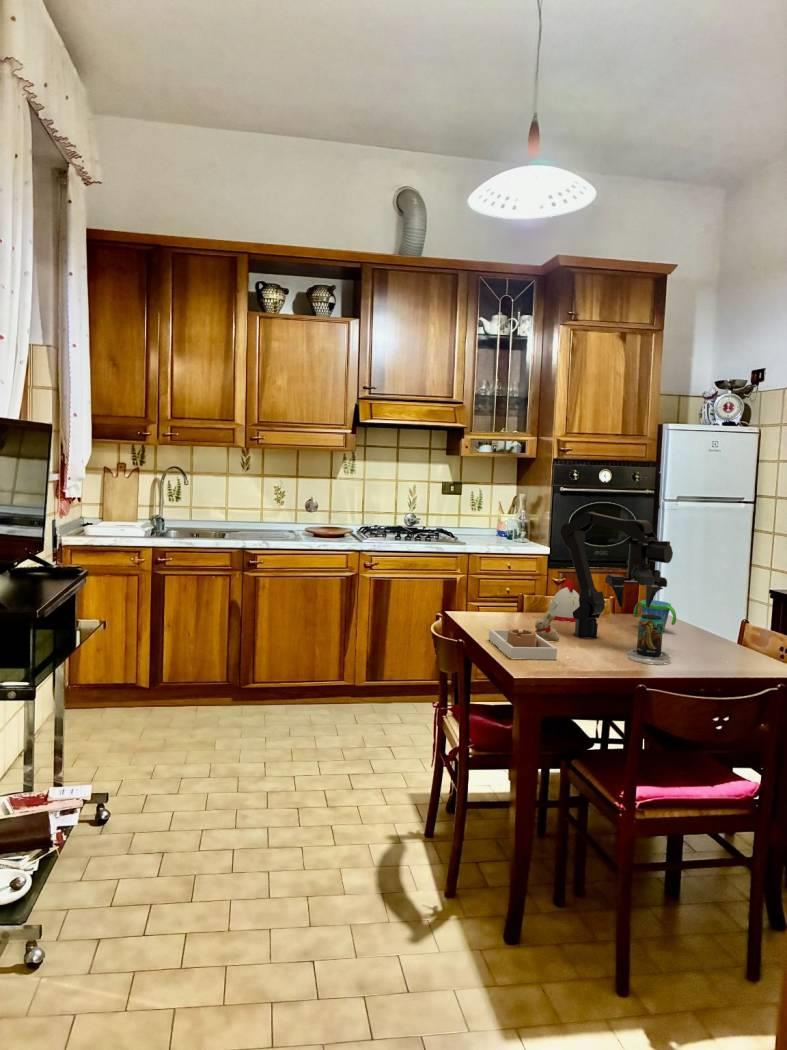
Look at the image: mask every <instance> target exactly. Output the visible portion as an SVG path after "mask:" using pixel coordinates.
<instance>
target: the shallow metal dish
mask: <svg viewBox="0 0 787 1050" xmlns="http://www.w3.org/2000/svg"><path fill="white" fill-rule="evenodd" d="M627 657H628V658H629V659H628V658H627V659H628V660H630V659H631V660H630V661H632V660H633V661H632V662H635V661H637V662H636V663H639V662H642V663H641V664H643V663H653V664H664V663H669V662H670V663H671V660H672V658H671V656H670V654H669V653H666V652H665V651H663V650H661V655H660V656H659V657H648V656H642V655H639V654H638V653H637V647H636V648H631V649H630V650H629V651H628V652H627ZM670 663H669V664H670Z"/></svg>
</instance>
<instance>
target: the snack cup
mask: <svg viewBox="0 0 787 1050" xmlns="http://www.w3.org/2000/svg"><path fill="white" fill-rule="evenodd" d="M639 607H640V608H641V616H642V615H656V616H660V617H661V620H662V622H663V632H664V631H665V630H666V625H667V622H668V618H669V613H671V615H672V620H671V625H672V626H674V625H675V624H676V623H677V613H676V611H675V608H674V607H673V606H672V604H671V603H670V602H667V601H663V600H662V601H661V600H655V599H653V600H652V602H651V604H650V606H649V608H647V607H646V599H643V600H640V601H639V602H637V603H636V604H635V606H634V609H633V616H634V618H638V617H639Z"/></svg>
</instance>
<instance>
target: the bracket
mask: <svg viewBox="0 0 787 1050" xmlns="http://www.w3.org/2000/svg"><path fill="white" fill-rule="evenodd" d="M507 630H508V637H507V642H508V643H509V644H511V645H512V646H513V647H536V644H537V640H536V639H535V638H536V634H537V633H536V632H535V631H533V630H531V629H530V630H531V631H530V630H529V629H522V630H523V632H518V631H519V630H520V629H519V628H511V629H507Z"/></svg>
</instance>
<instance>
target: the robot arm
mask: <svg viewBox="0 0 787 1050" xmlns="http://www.w3.org/2000/svg"><path fill="white" fill-rule="evenodd" d="M593 526H598V527H601V528H606V529H610V530H615V531H618V532H621V533H623V534H624V535H625V536H627V539H625V540H624V541H623V544H624V545H629V551H628V560H626V565H627V573H625V577H624V576H621V575H619V574H607V575H606V576H605V582H604V583H605V584H608V586H609V587H612V590H613V592H614V594H615V597H616V600H617V602H618V607H620V608H622V607H623V602H624V590H625V587H626V586H624V585H625V584H637V585H639V586H642V587H643V586H646V588H645V589H646V590H645V591H646V592H645V600H646V607H647V608H649V606H650V604H651V602H652V600H654V597H655V596H656V594H657V593H658V592H659V591H661V590H663V589H664V588H667V587H668V579H667V578H666V577H663V576H661V571H660V570H659V569H653V570H651V569H650V564H649V563H648V561H651V562H655V563H657V562H658V563H663V564H664V563H665V564H669V563H670V562H671V561H672V558H673V556H674V555H673V554H674V552H673V547H672V546H671V541H669V540H666V541H665V540H659V538H658V537H657V535H656V534H655V531H654V530H653V526H652V524H651V522H650V521H649V520H646V519H643V520H642V519H623V518H619V517H616V516H615V517H614V516H610V515H606V514H601V513H597V512H596V511H586V512H584V513H583V514H581V515H580V516H578V517H577V518H574V519H572V520H571V521H570V522H568V523H564V524H562V526H560V527H561V528H560V529H559V535H560V538H561V539H562V542H563V544H564V545H565V546H566V547H567V549H568V550H569V552H570V556H571V560H572V563H573V567H574V571H575V575H576V579H577V583H578V586H579V589H580V590H579V591H580V592H579V607H578V608H577V609H576V610H575V611H573V618H574V619H576V622H574V623H575V624H574V626H575V627H574V631H573V632H572V635H574V636H576V637H578V638H580V639H598V636H597V635H598V627H599V626H598V625H599V623H597V620H598V619H599V618H600V616H601V614H602V613H603V612H604V610H605V608H606V605H605V604H606V603H607V601H606V600H605V596H604V592H603V591H598V590H597V588H596V587H595V584H594V579H593V576H592V572H591V568H590V564H589V561H588V557H587V553H586V550H585V543H586V540H587V539H586V533H587V532H588V531H590V529H591V528H592V527H593Z"/></svg>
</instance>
